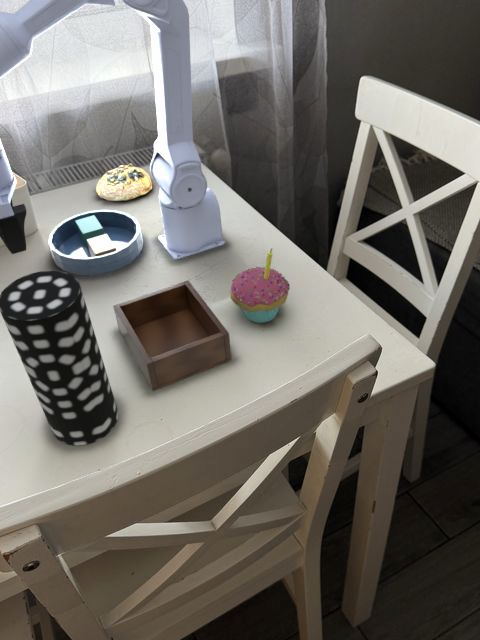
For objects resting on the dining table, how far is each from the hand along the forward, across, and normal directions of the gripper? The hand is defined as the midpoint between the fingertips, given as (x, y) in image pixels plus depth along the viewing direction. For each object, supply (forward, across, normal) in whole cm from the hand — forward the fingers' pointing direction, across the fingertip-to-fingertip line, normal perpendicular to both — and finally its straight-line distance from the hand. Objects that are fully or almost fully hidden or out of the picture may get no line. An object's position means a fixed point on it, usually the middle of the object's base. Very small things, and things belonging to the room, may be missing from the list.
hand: (13, 238), depth 88 cm
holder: (+10, +23, +15) cm, 29 cm away
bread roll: (+10, -24, +23) cm, 35 cm away
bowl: (+10, -6, +13) cm, 17 cm away
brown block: (+10, -2, +13) cm, 16 cm away
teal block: (+10, -9, +12) cm, 18 cm away
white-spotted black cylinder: (+10, +30, 0) cm, 32 cm away
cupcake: (+10, +23, +29) cm, 38 cm away
